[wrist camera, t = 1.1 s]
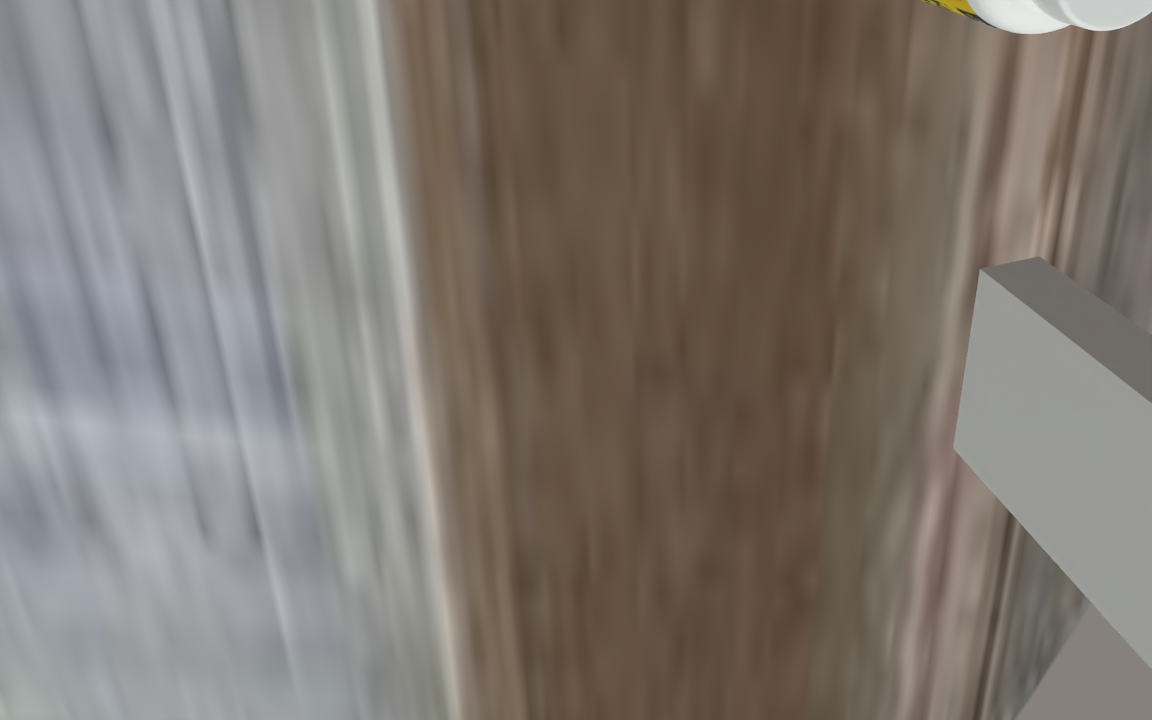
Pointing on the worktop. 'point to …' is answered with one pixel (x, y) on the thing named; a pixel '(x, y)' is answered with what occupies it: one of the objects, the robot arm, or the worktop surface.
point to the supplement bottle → (1049, 13)
